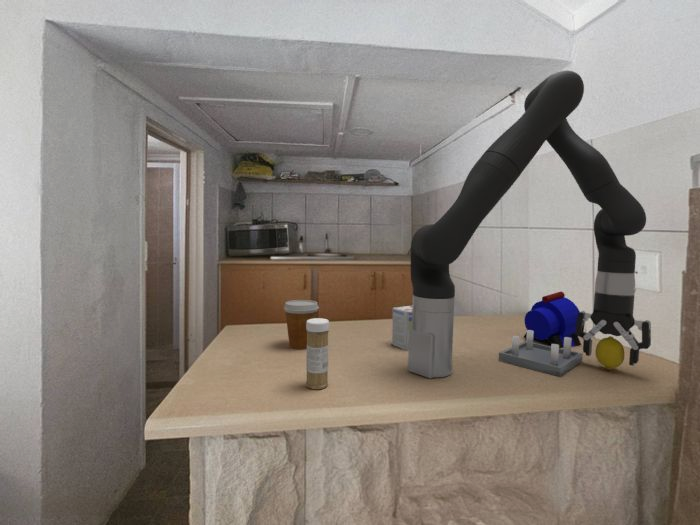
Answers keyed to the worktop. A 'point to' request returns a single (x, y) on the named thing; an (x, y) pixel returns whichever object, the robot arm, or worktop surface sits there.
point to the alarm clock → (553, 319)
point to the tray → (541, 355)
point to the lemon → (610, 353)
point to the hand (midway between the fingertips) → (609, 359)
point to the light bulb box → (401, 326)
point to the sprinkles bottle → (317, 353)
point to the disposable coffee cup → (299, 321)
